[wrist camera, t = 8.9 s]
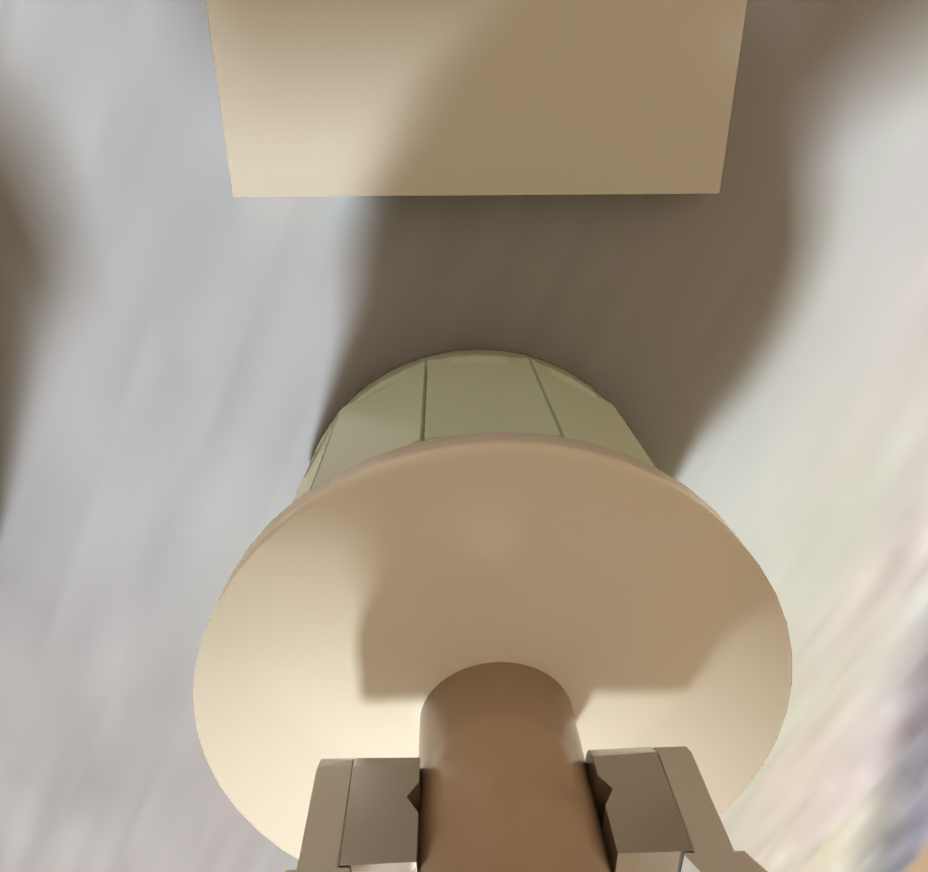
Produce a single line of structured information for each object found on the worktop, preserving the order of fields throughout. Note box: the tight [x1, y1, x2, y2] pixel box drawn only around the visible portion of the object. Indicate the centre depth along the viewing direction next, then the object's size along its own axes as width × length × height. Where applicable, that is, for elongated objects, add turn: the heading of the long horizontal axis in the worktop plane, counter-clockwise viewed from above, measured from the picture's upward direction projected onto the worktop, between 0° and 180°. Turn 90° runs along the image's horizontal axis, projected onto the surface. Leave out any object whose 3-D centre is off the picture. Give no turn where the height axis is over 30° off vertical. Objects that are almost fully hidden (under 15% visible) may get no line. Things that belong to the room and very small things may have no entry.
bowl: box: [292, 349, 656, 503], centre depth 15 cm, size 9×9×5 cm
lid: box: [193, 432, 792, 872], centre depth 10 cm, size 10×10×4 cm
